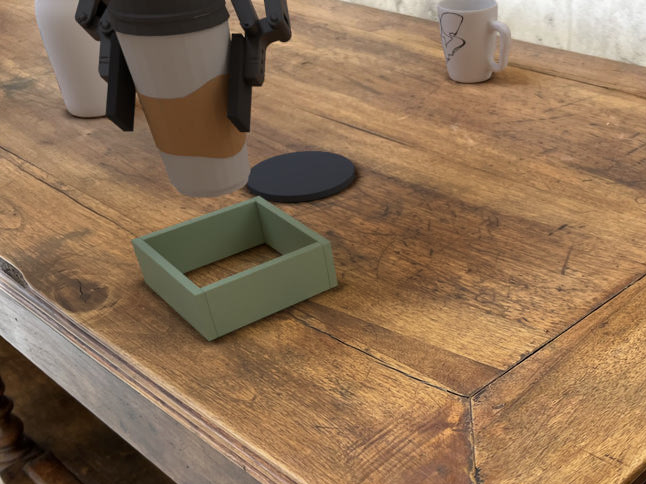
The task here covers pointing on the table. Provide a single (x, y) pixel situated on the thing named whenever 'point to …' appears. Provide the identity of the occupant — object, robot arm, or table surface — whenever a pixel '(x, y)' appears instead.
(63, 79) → the milk bottle
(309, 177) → the slate mat
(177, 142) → the coffee cup
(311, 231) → the frame
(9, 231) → the table surface
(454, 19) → the mug
